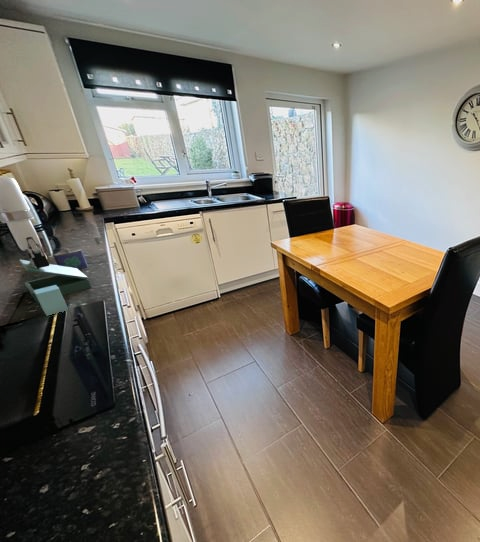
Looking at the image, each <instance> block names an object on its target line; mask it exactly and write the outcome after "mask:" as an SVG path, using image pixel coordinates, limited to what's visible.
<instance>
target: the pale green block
mask: <svg viewBox="0 0 480 542" xmlns="http://www.w3.org/2000/svg"><path fill="white" fill-rule="evenodd" d="M33 291H34V293H35V295H36V297H37V299H38V301H39V302H38V303H39V304H40V307H41V309H42V311H43V312H44V314H45V316H46V317H47V316H48V315H52V314H55V313H59V312H62V313H65V312H69V311H70V310H69V307H68V305H67V303H66V301H65V299H64V295H63V296H62V294H61V292H60V289H59V288H58V287H57V286H56V285H53V286H49V287H45V288H41V289H37V290H33ZM64 311H65V312H64ZM59 314H60V313H59ZM52 316H53V315H52Z"/></svg>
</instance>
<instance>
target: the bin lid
mask: <svg viewBox="0 0 480 542" xmlns="http://www.w3.org/2000/svg"><path fill="white" fill-rule="evenodd" d="M33 255H34V254H33ZM32 258H33V257H32ZM32 258H31V259H30V260H26V259H19V260H18V262H19V264H20V265H21V266H22V267H23V269H24V270H25V271H26V272H27V273H36V274H41V275H42V274H43V275H50V276H54V275H57V276H65V277H73V278H80V279H88V280H89V277H88V276H87V275H86V274H85V273H84V272H83V271H81V269H79V270H78V269H77V268H72V267H65V266H59V265H57V264H52V263H49V266H46V267H42V268H37V267H36V265H35V264H34V262H33V260H32Z"/></svg>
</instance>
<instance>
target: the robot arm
mask: <svg viewBox="0 0 480 542" xmlns="http://www.w3.org/2000/svg"><path fill="white" fill-rule="evenodd" d="M30 208H31V207H30V206H29V204H28V202H27V200H26V197H25V196H24V194H23V192H22V190H21V188H20V186H19V184H18V182H17V181H16V179H15V178H13V177H9V176H0V223H4V224H6V225H7V227H8V229H9V231H10V233H11V235H12V237H13V239H14V240H15V242H16V244H17V246H18V248H19V249H20V250H21V251H22V252H25V251H27V253H28V254H27V255H28V257H29V259H30V260H31V258H32V257H33V258H32V260H33V262H34V264H35V265H36V267H37V268H42V267H46V266H49V264H50V262H49V261H48V259H47V257H46V255H45V254H44V253H43V251H42V249H41V248H42V247H43V245H42V243H41V240H40V237H39V236H38V233H37V230H36V229H35V226H34V225H33V222H32V221H31V220H34V219H35V216H34V213H33V212H32V210H31V209H30ZM33 254H34V255H33Z"/></svg>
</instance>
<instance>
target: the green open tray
mask: <svg viewBox="0 0 480 542" xmlns="http://www.w3.org/2000/svg"><path fill="white" fill-rule="evenodd" d="M23 285H24V286H25V287H26V290H27V292H28V293H29V294H30V296H31V297H32V298H33V300H34V302H35V303H36V304H37V303H39V301H38V299H37V297H36V295H35V293H34V291H33V290H37V289H41V288H45V287H49V286H53V285H56V286H57V287H58V288H59V289H60V292H61V294H62V296H63V297H64V296H66V295H70V294H74V293H77V292H82V291H85V290H88V289H92V285H91V283H90V280H89V278H88V279H80V278H73V277H65V276H57V275H50V276H46V277H42V278H38V279H34V280H29V281H25V282H23Z"/></svg>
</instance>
